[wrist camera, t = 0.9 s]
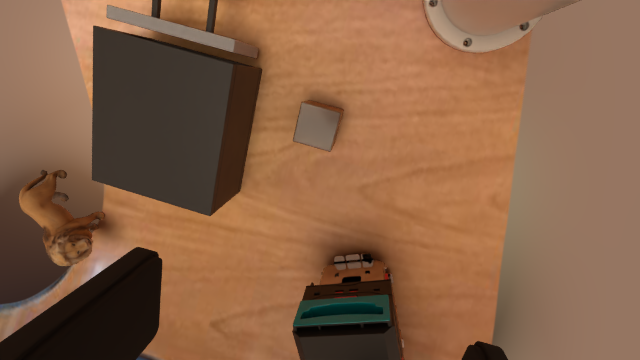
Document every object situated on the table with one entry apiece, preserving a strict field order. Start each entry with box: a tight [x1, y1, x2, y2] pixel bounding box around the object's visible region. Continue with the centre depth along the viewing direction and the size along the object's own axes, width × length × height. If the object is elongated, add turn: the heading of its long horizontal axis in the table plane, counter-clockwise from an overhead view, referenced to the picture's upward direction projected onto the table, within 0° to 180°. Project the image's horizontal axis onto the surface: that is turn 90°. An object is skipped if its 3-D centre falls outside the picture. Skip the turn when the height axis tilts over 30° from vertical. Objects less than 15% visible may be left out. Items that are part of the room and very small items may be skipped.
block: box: [293, 100, 344, 152], centre depth 36 cm, size 4×4×4 cm
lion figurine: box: [19, 170, 104, 266], centre depth 42 cm, size 15×5×9 cm, turn 44°
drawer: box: [107, 0, 258, 58], centre depth 34 cm, size 21×13×7 cm, turn 165°
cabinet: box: [92, 26, 262, 216], centre depth 36 cm, size 17×15×9 cm
